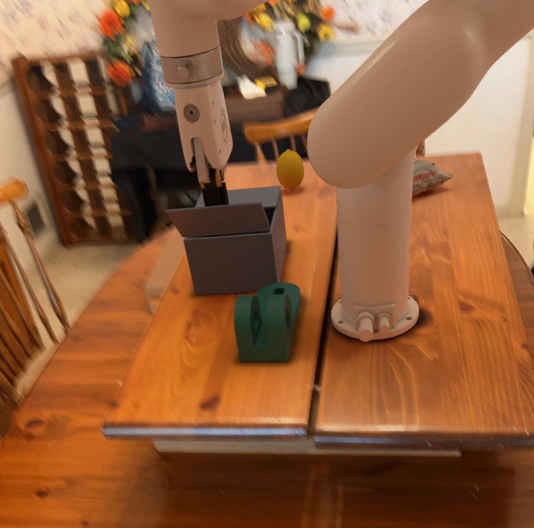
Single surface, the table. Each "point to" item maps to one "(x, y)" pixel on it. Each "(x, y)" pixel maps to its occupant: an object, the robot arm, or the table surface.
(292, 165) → the lemon
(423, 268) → the table surface
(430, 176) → the packaged food
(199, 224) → the carton flap
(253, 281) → the carton
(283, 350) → the bracket
